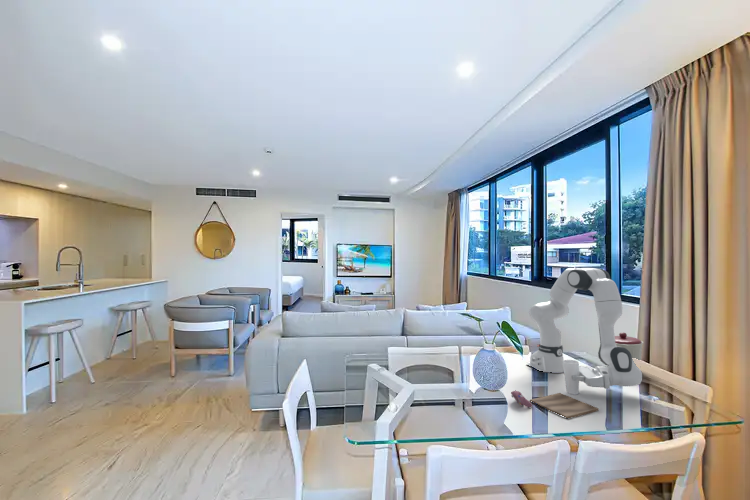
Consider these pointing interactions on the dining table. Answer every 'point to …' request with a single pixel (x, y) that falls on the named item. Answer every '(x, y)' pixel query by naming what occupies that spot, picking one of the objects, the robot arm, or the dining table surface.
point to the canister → (630, 344)
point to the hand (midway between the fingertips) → (569, 375)
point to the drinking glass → (571, 370)
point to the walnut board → (564, 405)
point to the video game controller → (520, 399)
